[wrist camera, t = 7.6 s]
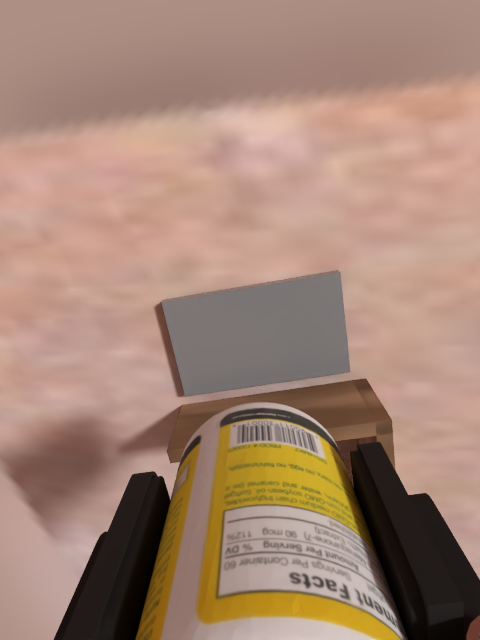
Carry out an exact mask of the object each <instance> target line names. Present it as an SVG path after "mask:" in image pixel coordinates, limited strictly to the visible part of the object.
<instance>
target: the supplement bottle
mask: <svg viewBox="0 0 480 640" xmlns="http://www.w3.org/2000/svg"><path fill="white" fill-rule="evenodd" d="M135 640H408V637H407V634H406V632H405V629H404V626H403V623H402V620H401V618H400V615H399V612H398V609H397V606H396V604H395V601H394V598H393V596H392V593H391V590H390V587H389V585H388V582H387V579H386V576H385V574H384V570H383V568H382V565H381V563H380V560H379V557H378V554H377V551H376V549H375V546H374V543H373V540H372V538H371V535H370V532H369V529H368V526H367V524H366V521H365V518H364V516H363V513H362V510H361V508H360V505H359V502H358V499H357V496H356V494H355V491H354V488H353V486H352V483H351V480H350V478H349V475H348V472H347V469H346V467H345V463H344V461H343V459H342V456H341V453H340V451H339V449H338V447H337V445H336V443H335V441H334V440H333V438H332V437H331V435H330V434H329V433H328V431H327V430H326V429H325V428H324V427H323V426H322V425H321V424H319V423H318V422H317V421H316V420H315V419H313V418H312V417H310V416H309V415H307V414H305V413H304V412H302V411H300V410H298V409H295V408H292V407H289V406H286V405H282V404H277V403H268V402H254V403H246V404H241V405H237V406H234V407H231V408H229V409H226V410H224V411H222V412H220V413H218V414H216V415H214V416H213V417H212V418H210V419H209V420H208V421H206V422H205V423H204V424H203V425H202V426H201V427H200V428H199V429H198V430H197V431H196V432H195V433H194V434H193V436H192V437H191V439H190V440H189V442H188V443H187V445H186V447H185V449H184V452H183V454H182V458H181V462H180V465H179V468H178V472H177V477H176V480H175V484H174V489H173V493H172V496H171V501H170V505H169V509H168V513H167V517H166V521H165V525H164V529H163V533H162V537H161V541H160V545H159V549H158V553H157V557H156V561H155V565H154V569H153V573H152V577H151V581H150V585H149V589H148V593H147V597H146V601H145V605H144V609H143V612H142V616H141V620H140V624H139V628H138V632H137V636H136V639H135Z"/></svg>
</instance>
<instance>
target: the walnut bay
mask: <svg viewBox="0 0 480 640" xmlns="http://www.w3.org/2000/svg"><path fill="white" fill-rule="evenodd" d="M254 402H268V403H277V404H282V405H286V406H289V407H292V408H295V409H298V410H300V411H302V412H304V413H305V414H307V415H309V416H310V417H312V418H313V419H315V420H316V421H317V422H318V423H319V424H321V425H322V426H323V427H324V428H325V429H326V430H327V431H328V433H329V434H330V435H331V437H332V438H333V440H334V441H341V440H349V439H356V438H358V440H359V444H364V443H371V442H380V443H381V444H382V446H383V448H384V450H385V452H386V454H387V455H388V457H389V459H390V461H391V463H392V465H393V467H394V469H395V460H394V445H393V430H392V419H391V418H390V416H389V415H388V413H387V411H386V410H385V408H384V407H383V405H382V404H381V402H380V400H379V399H378V397H377V396H376V394H375V392H374V391H373V389H372V388H371V386H370V384H369V383H368V381H367V380H366V379H359V380H352V381H346V382H339V383H332V384H325V385H318V386H311V387H304V388H297V389H290V390H284V391H277V392H270V393H263V394H256V395H249V396H242V397H235V398H229V399H222V400H215V401H208V402H201V403H194V404H187V405H182V407H181V410H180V413H179V416H178V419H177V422H176V425H175V428H174V431H173V434H172V437H171V440H170V443H169V446H168V449H167V453H168V456H169V460H170V463H175V462H181V458H182V454H183V452H184V449H185V447H186V445H187V443H188V442H189V440H190V439H191V437H192V436H193V434H194V433H195V432H196V431H197V430H198V429H199V428H200V427H201V426H202V425H203V424H204V423H205V422H206V421H208V420H209V419H210V418H212V417H213V416H214V415H216V414H218V413H220V412H222V411H224V410H226V409H229V408H231V407H234V406H237V405H241V404H246V403H254Z"/></svg>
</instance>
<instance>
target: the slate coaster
mask: <svg viewBox="0 0 480 640" xmlns="http://www.w3.org/2000/svg"><path fill="white" fill-rule="evenodd" d="M162 307H163V311H164V315H165V319H166V323H167V327H168V331H169V335H170V339H171V343H172V347H173V351H174V355H175V359H176V363H177V367H178V371H179V375H180V379H181V382H182V386H183V390H184V394H185V396H191V395H198V394H205V393H211V392H218V391H225V390H232V389H239V388H245V387H252V386H259V385H266V384H272V383H279V382H286V381H293V380H300V379H306V378H313V377H320V376H327V375H334V374H340V373H347V372H350V364H349V354H348V344H347V334H346V324H345V314H344V304H343V294H342V285H341V275H340V272H339V271H338V270H337V271H331V272H326V273H320V274H314V275H308V276H302V277H296V278H290V279H284V280H278V281H273V282H267V283H261V284H255V285H249V286H243V287H237V288H231V289H225V290H220V291H214V292H208V293H202V294H196V295H190V296H184V297H178V298H172V299H167V300H163V301H162Z"/></svg>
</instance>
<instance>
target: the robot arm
mask: <svg viewBox="0 0 480 640" xmlns="http://www.w3.org/2000/svg"><path fill="white" fill-rule="evenodd" d="M350 456H351V465H352V474H353V484H354V491H355V494H356V496H357V499H358V502H359V505H360V508H361V510H362V513H363V516H364V518H365V521H366V524H367V526H368V529H369V532H370V535H371V538H372V540H373V543H374V546H375V549H376V551H377V554H378V557H379V560H380V563H381V565H382V568H383V570H384V574H385V576H386V579H387V582H388V585H389V587H390V590H391V593H392V596H393V598H394V601H395V604H396V606H397V609H398V612H399V615H400V618H401V620H402V623H403V626H404V629H405V632H406V634H407V637H408V640H480V580H479V578H478V576H477V575H476V573H475V571H474V570H473V568H472V566H471V565H470V563H469V561H468V559H467V558H466V556H465V554H464V553H463V551H462V549H461V548H460V546H459V544H458V543H457V541H456V539H455V538H454V536H453V534H452V532H451V531H450V529H449V527H448V526H447V524H446V522H445V521H444V519H443V517H442V516H441V514H440V512H439V511H438V509H437V507H436V505H435V504H434V502H433V501H432V499H431V498H430V496H429V495H428V494H426V493H423V494H415V495H408V494H407V492H406V490H405V488H404V486H403V484H402V482H401V480H400V478H399V477H398V475H397V473H396V471H395V469H394V467H393V465H392V463H391V461H390V459H389V457H388V455H387V454H386V452H385V450H384V448H383V446H382V444H381V443H380V442H371V443H364V444H358V445H357V451H351V452H350ZM169 505H170V498H169V494H168V491H167V488H166V484H165V481H164V478H163V477H162V476H159V477H157V474H156V473H155V472H145V473H138V474H133V475H132V476H131V478H130V480H129V483H128V485H127V487H126V490H125V492H124V494H123V497H122V499H121V502H120V504H119V506H118V509H117V511H116V513H115V516H114V518H113V520H112V523H111V525H110V527H109V530H108V532H104V533H103V534H101V536H100V537H99V539H98V541H97V543H96V545H95V547H94V550H93V552H92V554H91V556H90V559H89V561H88V563H87V565H86V568H85V570H84V572H83V575H82V577H81V579H80V581H79V584H78V586H77V588H76V590H75V593H74V595H73V597H72V599H71V602H70V604H69V606H68V608H67V611H66V613H65V615H64V617H63V620H62V622H61V624H60V626H59V629H58V631H57V633H56V636H55V638H54V640H135V639H136V636H137V632H138V628H139V624H140V620H141V616H142V612H143V609H144V605H145V601H146V597H147V593H148V589H149V585H150V581H151V577H152V573H153V569H154V565H155V561H156V557H157V553H158V549H159V545H160V541H161V537H162V533H163V529H164V525H165V521H166V517H167V513H168V509H169Z"/></svg>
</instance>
